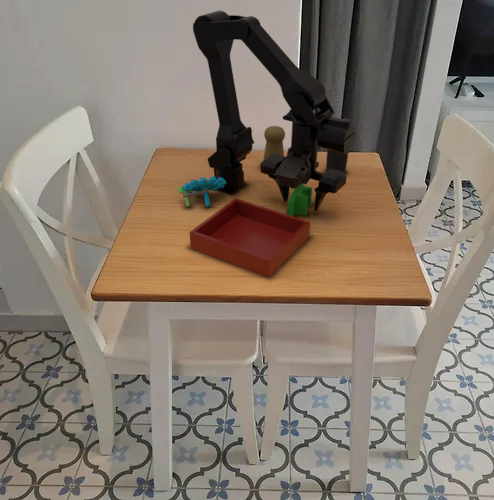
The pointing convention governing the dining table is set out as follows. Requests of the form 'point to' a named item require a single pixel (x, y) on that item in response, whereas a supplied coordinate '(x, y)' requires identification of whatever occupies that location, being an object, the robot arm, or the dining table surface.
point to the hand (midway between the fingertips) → (300, 206)
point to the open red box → (250, 236)
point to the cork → (274, 141)
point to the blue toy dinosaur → (201, 188)
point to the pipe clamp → (299, 200)
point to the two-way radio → (336, 160)
